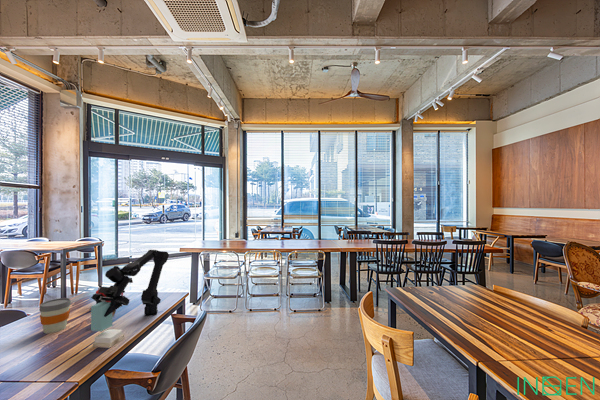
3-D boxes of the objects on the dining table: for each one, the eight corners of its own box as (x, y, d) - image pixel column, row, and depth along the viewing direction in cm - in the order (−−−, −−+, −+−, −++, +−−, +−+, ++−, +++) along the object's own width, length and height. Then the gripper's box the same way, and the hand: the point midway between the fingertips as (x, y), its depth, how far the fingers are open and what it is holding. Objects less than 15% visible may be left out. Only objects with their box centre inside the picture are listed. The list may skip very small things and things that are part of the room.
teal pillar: (102, 324, 131) (102, 301, 131) (112, 325, 130) (112, 302, 130) (91, 330, 125) (91, 306, 125) (101, 331, 124) (101, 307, 124)
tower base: (108, 338, 132) (108, 333, 132) (124, 339, 131) (124, 334, 131) (92, 348, 123) (92, 343, 123) (109, 349, 122) (109, 344, 122)
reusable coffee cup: (42, 337, 131) (43, 308, 131) (35, 331, 138) (36, 303, 138) (74, 327, 142) (74, 300, 142) (66, 322, 148) (66, 296, 149)
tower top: (107, 334, 131) (107, 329, 131) (122, 334, 131) (122, 329, 131) (94, 342, 123) (94, 337, 123) (110, 343, 123) (110, 338, 123)
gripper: (94, 278, 133) (72, 307, 122) (124, 280, 130) (104, 311, 119) (108, 288, 141) (88, 316, 130) (137, 290, 137) (119, 320, 127)
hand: (99, 316), depth 126 cm, fingers closed on teal pillar, 6 cm apart
